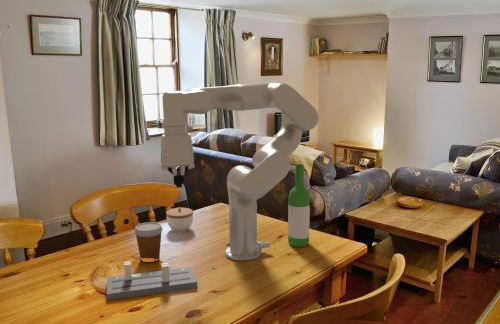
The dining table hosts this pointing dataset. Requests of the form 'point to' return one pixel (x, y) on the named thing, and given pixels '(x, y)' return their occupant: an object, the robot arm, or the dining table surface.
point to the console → (150, 283)
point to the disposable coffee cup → (149, 239)
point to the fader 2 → (165, 272)
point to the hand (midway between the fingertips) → (178, 186)
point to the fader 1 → (127, 270)
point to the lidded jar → (179, 219)
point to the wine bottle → (298, 211)
